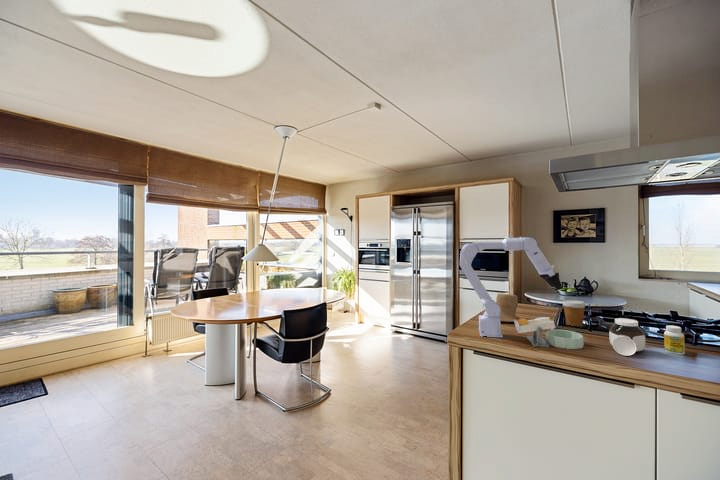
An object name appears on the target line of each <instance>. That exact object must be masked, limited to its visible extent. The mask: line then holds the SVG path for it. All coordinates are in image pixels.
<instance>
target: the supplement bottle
mask: <svg viewBox="0 0 720 480" xmlns="http://www.w3.org/2000/svg"><path fill="white" fill-rule="evenodd" d="M665 329H666V330H665V331H664V333H663V338H664V339H663V342H664V351H665V352H666V353H669V354H671V355H679V356H682V355H685V354H686V344H685V342H686V341H685V334H684V333H683V332H682V327H680V326H677V325H671V324H670V325H666V326H665Z"/></svg>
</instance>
